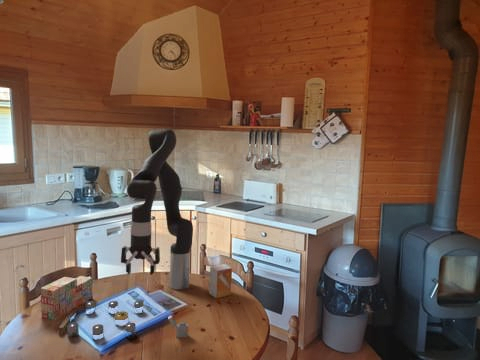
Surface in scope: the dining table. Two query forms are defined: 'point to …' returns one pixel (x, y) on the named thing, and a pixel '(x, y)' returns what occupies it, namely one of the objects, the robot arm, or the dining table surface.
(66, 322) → the bar
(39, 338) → the dining table surface
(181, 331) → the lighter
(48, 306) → the stack of blocks
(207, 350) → the dining table surface
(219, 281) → the small box
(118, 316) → the gold short domed cylinder
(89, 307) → the spacers
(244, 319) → the dining table surface
